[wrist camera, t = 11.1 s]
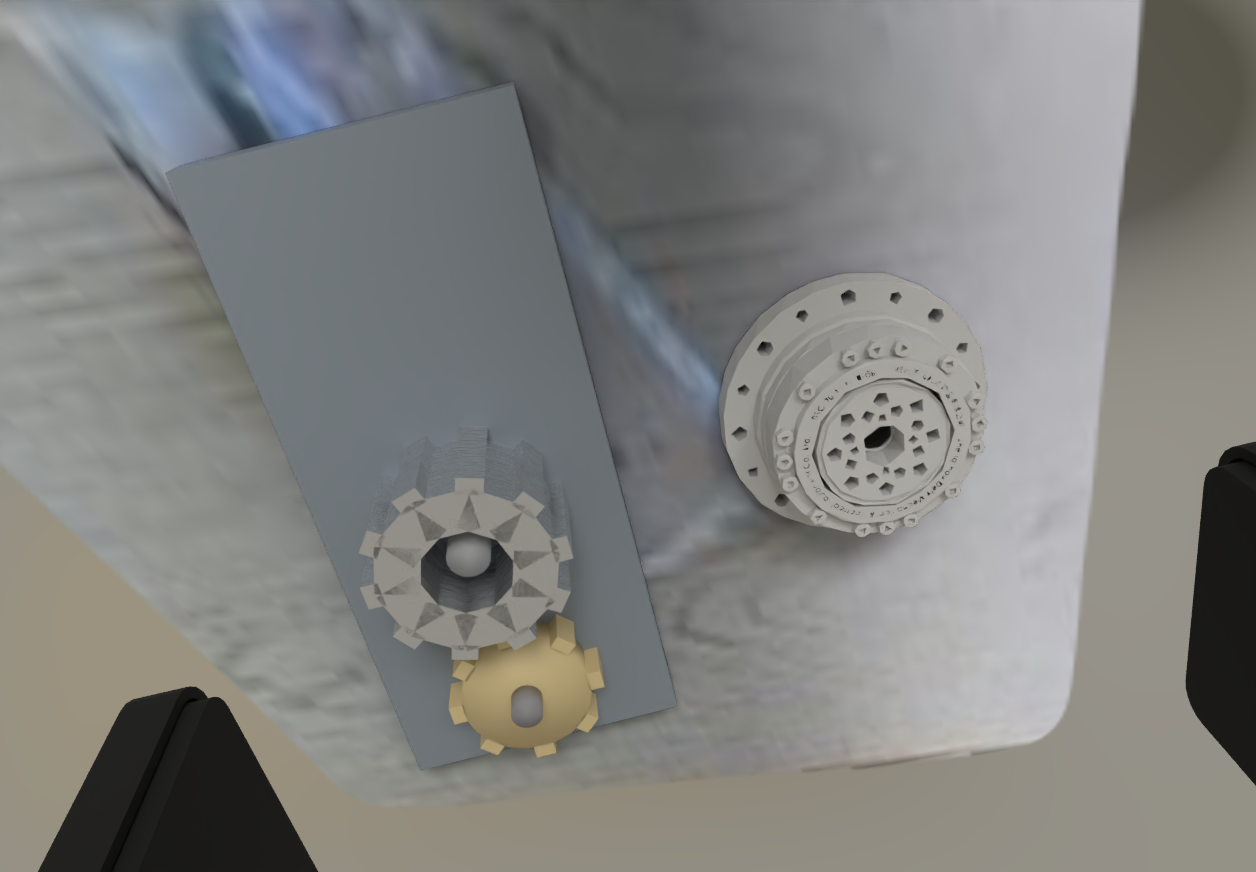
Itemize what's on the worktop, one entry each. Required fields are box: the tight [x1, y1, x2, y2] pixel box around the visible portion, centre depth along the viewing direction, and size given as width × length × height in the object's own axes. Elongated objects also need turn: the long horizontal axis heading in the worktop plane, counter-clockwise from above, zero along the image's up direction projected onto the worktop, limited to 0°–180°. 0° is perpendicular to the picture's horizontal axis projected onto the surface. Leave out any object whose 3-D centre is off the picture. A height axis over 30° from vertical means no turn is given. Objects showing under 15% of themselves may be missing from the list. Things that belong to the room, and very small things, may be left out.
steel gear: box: [359, 427, 573, 660], centre depth 34 cm, size 7×7×4 cm
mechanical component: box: [718, 273, 988, 537], centre depth 35 cm, size 10×4×10 cm
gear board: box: [165, 81, 677, 771], centre depth 34 cm, size 25×11×4 cm, turn 13°
